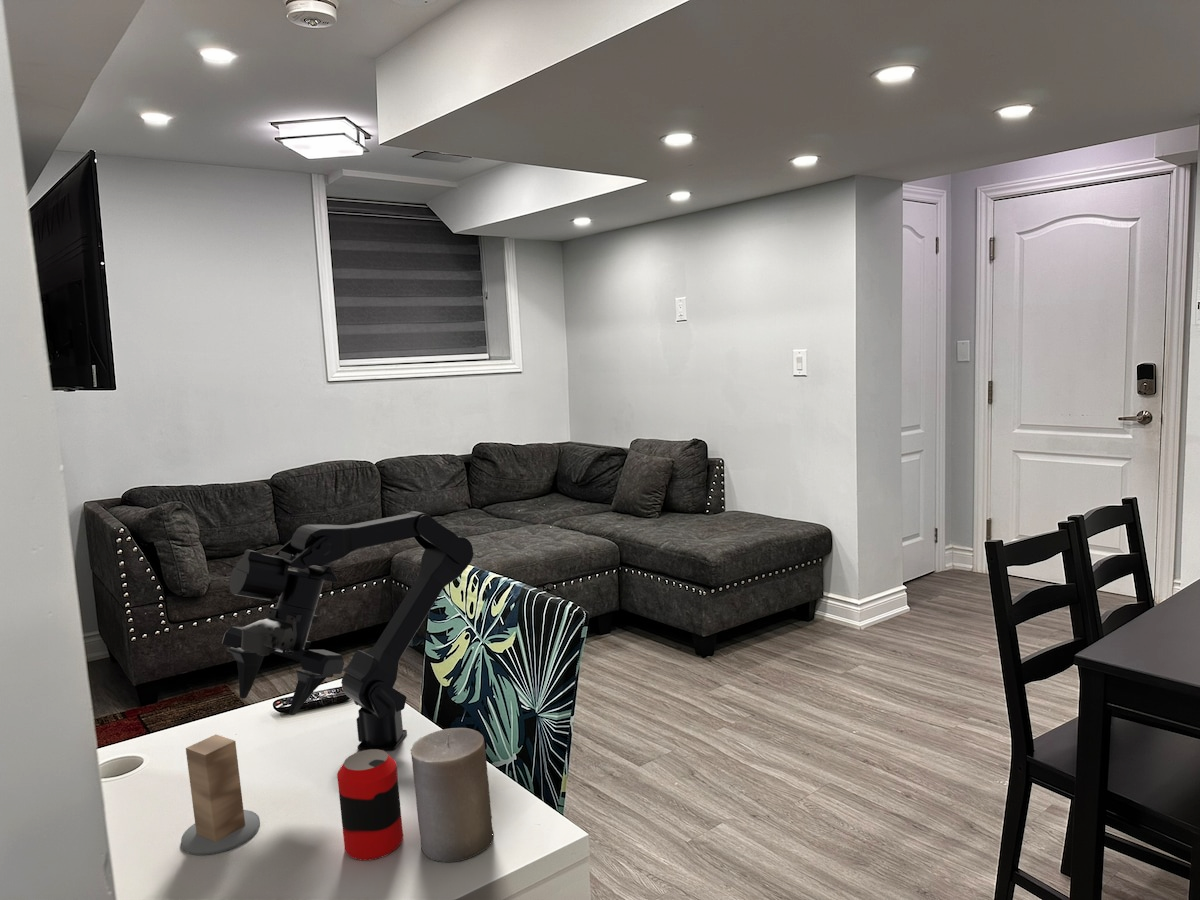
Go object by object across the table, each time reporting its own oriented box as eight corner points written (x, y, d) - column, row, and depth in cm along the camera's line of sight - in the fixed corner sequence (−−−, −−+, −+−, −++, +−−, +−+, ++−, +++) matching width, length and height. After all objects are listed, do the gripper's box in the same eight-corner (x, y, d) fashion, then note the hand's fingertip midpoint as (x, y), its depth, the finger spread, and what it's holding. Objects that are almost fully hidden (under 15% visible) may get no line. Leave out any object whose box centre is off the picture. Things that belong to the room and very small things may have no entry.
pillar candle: (503, 823, 115) (494, 719, 114) (477, 866, 106) (467, 753, 104) (438, 819, 118) (428, 716, 116) (407, 860, 108) (395, 750, 107)
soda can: (372, 868, 107) (364, 779, 106) (332, 851, 111) (323, 766, 110) (415, 837, 113) (407, 752, 112) (375, 822, 117) (367, 741, 116)
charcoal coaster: (273, 813, 121) (272, 809, 121) (235, 855, 111) (235, 851, 111) (208, 813, 123) (208, 809, 122) (165, 854, 113) (165, 850, 113)
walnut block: (225, 817, 120) (215, 734, 118) (245, 825, 118) (235, 740, 116) (196, 833, 116) (185, 748, 115) (215, 842, 114) (205, 755, 112)
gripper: (213, 588, 126) (180, 692, 123) (316, 618, 120) (284, 728, 118) (261, 592, 136) (231, 689, 134) (358, 620, 131) (329, 721, 128)
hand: (267, 706), depth 128 cm, fingers open, 9 cm apart
